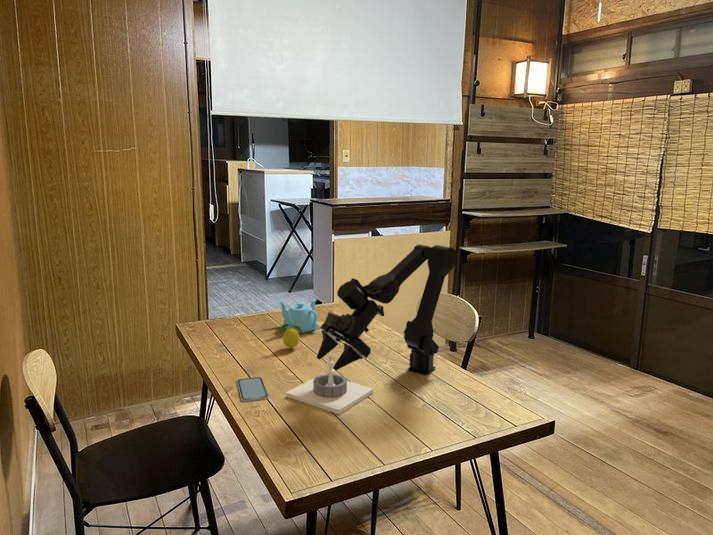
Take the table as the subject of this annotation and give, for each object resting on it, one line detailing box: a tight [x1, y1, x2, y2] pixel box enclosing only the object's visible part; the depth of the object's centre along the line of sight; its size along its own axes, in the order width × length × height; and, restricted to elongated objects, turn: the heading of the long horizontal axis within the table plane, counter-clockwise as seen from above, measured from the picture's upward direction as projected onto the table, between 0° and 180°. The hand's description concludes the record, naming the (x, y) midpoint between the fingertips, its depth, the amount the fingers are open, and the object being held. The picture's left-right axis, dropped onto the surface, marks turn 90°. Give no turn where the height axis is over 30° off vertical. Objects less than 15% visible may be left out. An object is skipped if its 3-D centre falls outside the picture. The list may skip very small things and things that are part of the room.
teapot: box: [278, 298, 319, 334], centre depth 203 cm, size 15×15×10 cm
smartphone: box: [236, 376, 270, 403], centre depth 150 cm, size 7×1×15 cm
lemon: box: [278, 323, 303, 350], centre depth 181 cm, size 7×6×10 cm
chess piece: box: [326, 355, 336, 386], centre depth 146 cm, size 5×5×10 cm
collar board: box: [285, 373, 374, 415], centre depth 147 cm, size 18×16×4 cm
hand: (325, 363), depth 144 cm, fingers open, 9 cm apart
